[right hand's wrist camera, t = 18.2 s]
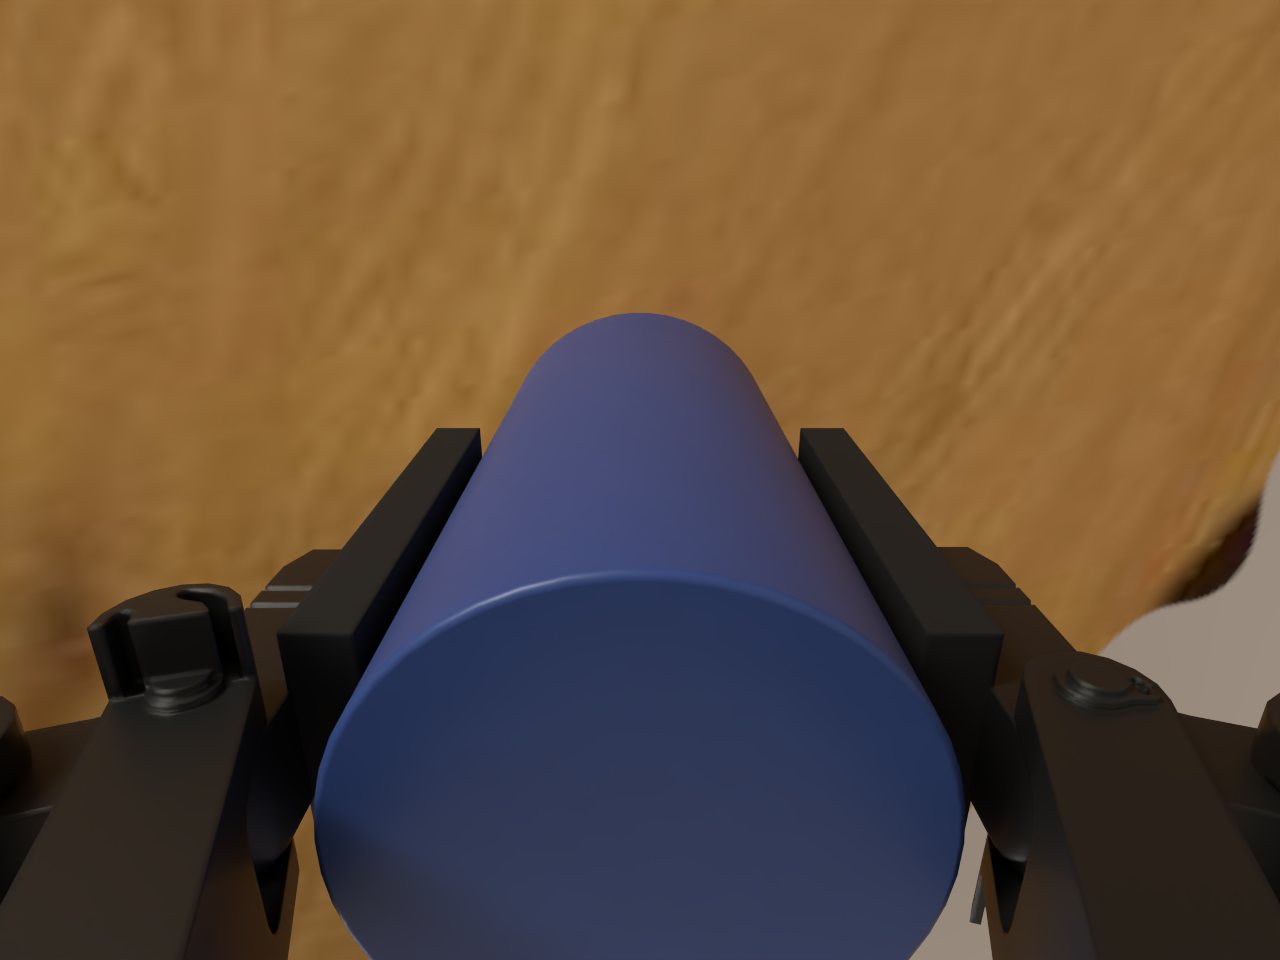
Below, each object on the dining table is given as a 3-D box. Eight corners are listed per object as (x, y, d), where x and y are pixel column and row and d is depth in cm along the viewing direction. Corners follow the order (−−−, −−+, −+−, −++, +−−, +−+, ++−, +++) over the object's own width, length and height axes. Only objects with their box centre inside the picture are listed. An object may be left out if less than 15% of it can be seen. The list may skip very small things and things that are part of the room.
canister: (821, 431, 17) (1105, 840, 7) (649, 599, 19) (662, 1143, 8) (627, 254, 16) (602, 419, 5) (459, 451, 17) (184, 880, 7)
